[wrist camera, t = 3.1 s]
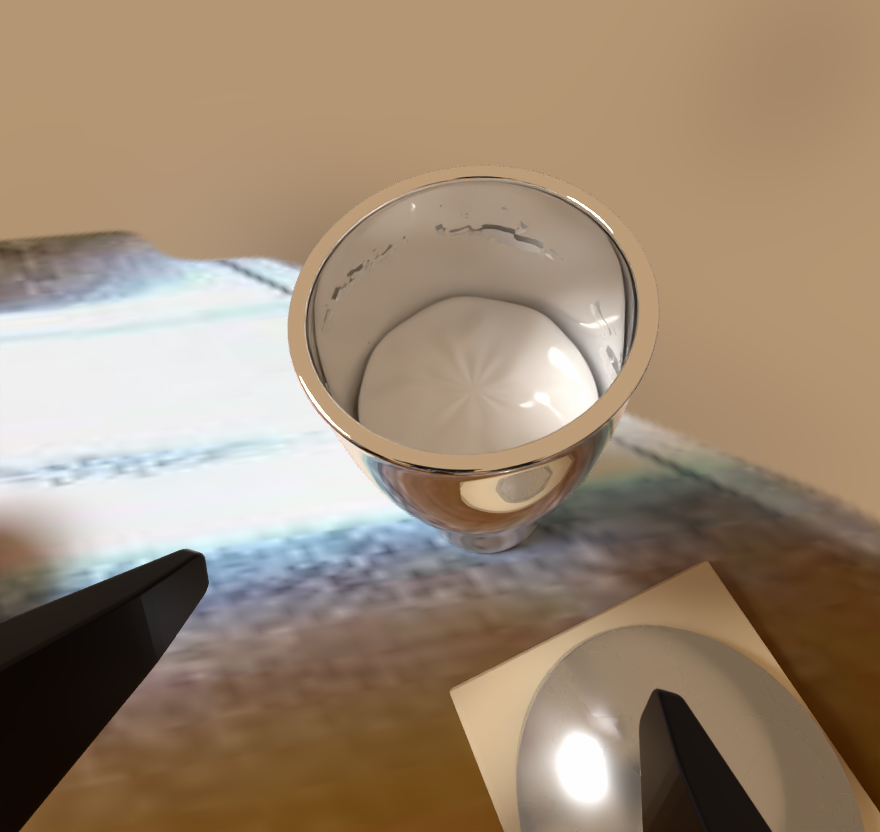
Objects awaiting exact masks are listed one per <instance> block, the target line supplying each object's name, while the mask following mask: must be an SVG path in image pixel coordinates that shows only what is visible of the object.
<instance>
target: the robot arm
mask: <svg viewBox="0 0 880 832" xmlns="http://www.w3.org/2000/svg"><path fill="white" fill-rule="evenodd" d="M208 584H209V580H208V573H207V567H206V561H205V557H204V555H203V554H202V553H200V552H197V551H193V550H190V549H182V550H179V551H176V552H174V553H171V554H169V555H166V556H164V557H161V558H159V559H156V560H154V561H151V562H149V563H146V564H144V565H142V566H139V567H137V568H134V569H132V570H129V571H127V572H124V573H122V574H119V575H117V576H114V577H112V578H109V579H107V580H104V581H102V582H99V583H97V584H94V585H92V586H89V587H87V588H84V589H82V590H79V591H77V592H74V593H72V594H69V595H67V596H64V597H62V598H59V599H57V600H54V601H52V602H49V603H47V604H44V605H42V606H39V607H37V608H34V609H32V610H29V611H27V612H24V613H22V614H19V615H17V616H14V617H12V618H9V619H7V620H4V621H2V622H0V832H19V831H20V830H21V828H22V827H23V826H24V825H25V824H26V822H27V821H28V820H29V819H30V817H31V816H32V815H33V814H34V813H35V811H36V810H37V809H38V808H39V806H40V805H41V804H42V803H43V802H44V800H45V799H46V798H47V797H48V795H49V794H50V793H51V792H52V791H53V789H54V788H55V787H56V786H57V785H58V783H59V782H60V781H61V780H62V778H63V777H64V776H65V775H66V774H67V772H68V771H69V770H70V769H71V767H72V766H73V765H74V764H75V763H76V761H77V760H78V759H79V758H80V756H81V755H82V754H83V753H84V752H85V750H86V749H87V748H88V747H89V745H90V744H91V743H92V742H93V741H94V739H95V738H96V737H97V736H98V735H99V733H100V732H101V731H102V730H103V728H104V727H105V726H106V725H107V724H108V722H109V721H110V720H111V719H112V717H113V716H114V715H115V714H116V713H117V711H118V710H119V709H120V708H121V706H122V705H123V704H124V703H125V702H126V700H127V699H128V698H129V697H130V696H131V694H132V693H133V692H134V691H135V689H136V688H137V687H138V686H139V685H140V683H141V682H142V681H143V680H144V678H145V677H146V676H147V675H148V674H149V672H150V671H151V670H152V668H153V667H154V666H155V665H156V663H157V662H158V661H159V659H160V658H161V657H162V655H163V654H164V652H165V651H166V650H167V648H168V647H169V645H170V644H171V642H172V641H173V640H174V638H175V637H176V635H177V634H178V632H179V631H180V629H181V628H182V626H183V625H184V624H185V622H186V621H187V619H188V618H189V616H190V615H191V613H192V612H193V610H194V609H195V608H196V606H197V605H198V603H199V602H200V600H201V599H202V597H203V596H204V594H205V593H206V591H207V588H208ZM639 749H640V776H641V803H642V826H643V832H772V830H771V829H770V827H769V826H768V824H767V823H766V821H765V820H764V818H763V817H762V815H761V814H760V812H759V811H758V809H757V808H756V806H755V805H754V803H753V802H752V800H751V799H750V797H749V796H748V794H747V793H746V791H745V790H744V788H743V787H742V785H741V784H740V782H739V781H738V779H737V778H736V776H735V775H734V773H733V772H732V770H731V769H730V767H729V766H728V764H727V763H726V761H725V760H724V758H723V757H722V755H721V754H720V752H719V751H718V749H717V748H716V746H715V745H714V743H713V742H712V740H711V739H710V737H709V736H708V734H707V733H706V731H705V730H704V728H703V727H702V725H701V724H700V722H699V721H698V719H697V718H696V716H695V715H694V713H693V712H692V710H691V709H690V707H689V706H688V704H687V703H686V701H685V700H684V699H683V698H682V697H681V696H680V695H678V694H676V693H673V692H669V691H666V690H663V689H659V688H656V689H654V690H653V691H652V693H651V695H650V697H649V699H648V702H647V704H646V706H645V708H644V711H643V713H642V715H641V718H640V723H639Z"/></svg>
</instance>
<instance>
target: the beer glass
mask: <svg viewBox="0 0 880 832" xmlns="http://www.w3.org/2000/svg"><path fill="white" fill-rule="evenodd" d="M658 327H659V297H658V290H657V285H656V281H655V277H654V274H653V270H652V267H651V265H650V262H649V260H648V258H647V256H646V254H645V252H644V250H643V248H642V247H641V245H640V243H639V241H638V240H637V238H636V237H635V235H634V234H633V233H632V232H631V230H630V229H629V228H628V226H627V225H626V224H625V223H624V222H623V221H622V220H621V219H620V218H619V217H618V216H617V215H616V214H615V213H614V212H613V211H612V210H611V209H610V208H608V207H607V206H606V205H605V204H603V203H602V202H601V201H599V200H598V199H596V198H595V197H594V196H592V195H590V194H589V193H587V192H585V191H584V190H582V189H580V188H578V187H576V186H574V185H572V184H570V183H568V182H565V181H563V180H560V179H558V178H555V177H552V176H549V175H546V174H543V173H539V172H535V171H531V170H526V169H521V168H514V167H506V166H489V165H487V166H486V165H483V166H463V167H454V168H447V169H442V170H437V171H433V172H428V173H425V174H421V175H418V176H415V177H412V178H409V179H406V180H403V181H401V182H398V183H396V184H394V185H391V186H389V187H387V188H385V189H383V190H381V191H379V192H377V193H376V194H374V195H372V196H371V197H369V198H367V199H366V200H364V201H363V202H361V203H360V204H358V205H357V206H356V207H354V208H353V209H351V210H350V211H349V212H348V213H346V214H345V215H344V216H343V217H342V218H341V219H340V220H338V221H337V222H336V223H335V224H334V225H333V226H332V227H331V229H329V231H328V232H327V233H326V234H325V235H324V236H323V237H322V239H321V240H320V241H319V242H318V244H317V245H316V246H315V248H314V249H313V251H312V252H311V254H310V255H309V257H308V259H307V260H306V262H305V264H304V266H303V268H302V270H301V272H300V274H299V277H298V279H297V282H296V284H295V287H294V291H293V294H292V298H291V302H290V307H289V314H288V345H289V352H290V357H291V361H292V365H293V368H294V371H295V374H296V376H297V379H298V381H299V383H300V386H301V388H302V390H303V391H304V393H305V395H306V397H307V398H308V400H309V402H310V403H311V404H312V406H313V407H314V409H315V410H316V411H317V412H318V414H319V415H320V416H321V417H322V418H323V419H324V421H325V422H326V423H327V424H328V425H329V426H330V427H331V429H332V430H333V432H334V434H335V435H336V437H337V438H338V440H339V441H340V443H341V444H342V446H343V447H344V448H345V450H346V451H347V453H348V454H349V455H350V457H351V458H352V460H353V461H354V462H355V464H356V465H357V466H358V468H359V469H360V470H361V471H362V472H363V473H364V474H365V476H366V477H367V478H368V479H369V480H370V481H371V482H372V483H373V485H374V486H375V487H376V488H377V489H378V490H379V491H380V492H381V493H382V494H383V495H384V496H385V497H387V498H388V499H389V500H390V501H391V502H393V503H394V504H395V505H397V506H398V507H399V508H401V509H402V510H403V511H405V512H406V513H408V514H409V515H410V516H412V517H414V518H415V519H417V520H419V521H421V522H423V523H425V524H427V525H429V526H432V527H434V528H435V529H436V531H437V532H438V533H439V534H440V535H441V536H442V537H443V538H444V539H446V540H447V541H448V542H450V543H451V544H453V545H454V546H456V547H458V548H461V549H463V550H466V551H470V552H474V553H496V552H501V551H504V550H507V549H510V548H512V547H514V546H516V545H518V544H519V543H521V542H522V541H524V540H525V539H526V538H527V537H528V536H529V535H530V534H531V533H532V532H533V531H534V530H535V528H536V527H537V526H538V524H539V522H540V520H541V519H542V518H543V517H545V516H547V515H548V514H550V513H551V512H553V511H554V510H555V509H557V508H558V507H559V506H560V505H562V504H563V503H564V502H565V501H566V500H567V499H568V498H569V497H570V496H571V495H572V494H573V493H574V491H575V490H576V489H577V488H578V487H579V486H580V485H581V484H582V483H583V482H584V481H585V479H586V478H587V477H588V476H589V474H590V473H591V471H592V470H593V469H594V467H595V465H596V464H597V462H598V461H599V459H600V457H601V456H602V454H603V452H604V451H605V449H606V448H607V446H608V444H609V442H610V441H611V439H612V436H613V434H614V432H615V430H616V428H617V426H618V424H619V422H620V420H621V418H622V415H623V413H624V411H625V409H626V406H627V404H628V401H629V399H630V397H631V395H632V393H633V392H634V391H635V389H636V387H637V386H638V384H639V383H640V381H641V379H642V377H643V375H644V373H645V371H646V369H647V367H648V365H649V362H650V359H651V357H652V353H653V351H654V347H655V343H656V338H657V333H658Z"/></svg>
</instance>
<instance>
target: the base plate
mask: <svg viewBox="0 0 880 832" xmlns="http://www.w3.org/2000/svg"><path fill="white" fill-rule="evenodd" d="M630 625H659V626H665V627H671V628H677V629H683V630H688V631H691V632H694V633H697V634H701V635H704V636H707V637H709V638H712V639H714V640H716V641H718V642H721V643H723V644H725V645H728V646H729V647H731V648H733V649H734V650H736V651H738V652H740V653H741V654H743V655H745V656H746V657H748V658H749V659H751V660H752V661H754V662H755V663H756V664H758V665H759V666H760V667H762V668H763V669H764V670H766V671H767V672H768V673H770V674H771V675H772V676H773V677H774V678H775V679H776V680H777V681H778V682H780V683H781V684H782V685H783V686H784V687H785V688H786V689H787V690H788V691H789V692H790V693H791V694H792V695H793V696H794V697H795V699H796V700H797V701H798V702H799V703H800V704H801V705H802V706H803V707H804V708H805V710H806V711H807V712H808V714H809V715H810V716H811V718H812V719H813V720H814V722H815V723H816V724H817V726H818V727H819V728H820V730H821V731H822V733H823V734H824V736H825V738H826V739H827V741H828V742H829V744H830V746H831V747H832V749H833V751H834V752H835V754H836V756H837V758H838V760H839V762H840V764H841V766H842V768H843V770H844V772H845V774H846V776H847V778H848V780H849V783H850V785H851V788H852V791H853V793H854V796H855V799H856V801H857V804H858V807H859V810H860V814H861V817H862V821H863V825H864V829H865V832H880V812H879V811H878V809H877V808H876V806H875V805H874V804H873V802H872V801H871V799H870V798H869V796H868V795H867V793H866V792H865V790H864V789H863V787H862V786H861V785H860V783H859V782H858V780H857V779H856V777H855V776H854V774H853V773H852V771H851V770H850V768H849V767H848V766H847V764H846V763H845V761H844V760H843V758H842V757H841V755H840V754H839V752H838V751H837V749H836V748H835V747H834V745H833V744H832V742H831V741H830V739H829V738H828V736H827V735H826V733H825V732H824V730H823V729H822V728H821V726H820V725H819V723H818V722H817V720H816V719H815V717H814V716H813V714H812V713H811V711H810V710H809V708H808V707H807V706H806V704H805V703H804V701H803V700H802V698H801V697H800V695H799V694H798V692H797V691H796V689H795V688H794V687H793V685H792V684H791V682H790V681H789V679H788V678H787V676H786V675H785V673H784V672H783V670H782V669H781V668H780V666H779V665H778V663H777V662H776V660H775V659H774V657H773V656H772V654H771V653H770V651H769V650H768V649H767V647H766V646H765V644H764V643H763V641H762V640H761V638H760V637H759V635H758V634H757V632H756V631H755V630H754V628H753V627H752V625H751V624H750V622H749V621H748V619H747V618H746V616H745V615H744V613H743V612H742V611H741V609H740V608H739V606H738V605H737V603H736V602H735V600H734V599H733V597H732V596H731V594H730V593H729V592H728V590H727V589H726V587H725V586H724V584H723V583H722V581H721V580H720V578H719V577H718V575H717V574H716V573H715V571H714V570H713V568H712V567H711V565H710V564H709V562H708V561H703V562H699V563H697V564H695V565H693V566H691V567H689V568H687V569H685V570H683V571H681V572H679V573H677V574H675V575H673V576H671V577H669V578H667V579H665V580H663V581H661V582H659V583H657V584H656V585H654V586H652V587H650V588H648V589H646V590H644V591H642V592H640V593H638V594H636V595H634V596H632V597H630V598H628V599H626V600H624V601H622V602H620V603H618V604H616V605H614V606H612V607H610V608H608V609H607V610H605V611H603V612H601V613H599V614H597V615H595V616H593V617H591V618H589V619H587V620H585V621H583V622H581V623H579V624H577V625H575V626H573V627H571V628H569V629H567V630H565V631H563V632H561V633H559V634H557V635H556V636H554V637H552V638H550V639H548V640H546V641H544V642H542V643H540V644H538V645H536V646H534V647H532V648H530V649H528V650H526V651H524V652H522V653H520V654H518V655H516V656H514V657H512V658H510V659H508V660H506V661H505V662H503V663H501V664H499V665H497V666H495V667H493V668H491V669H489V670H487V671H485V672H483V673H481V674H479V675H477V676H475V677H473V678H471V679H469V680H467V681H465V682H463V683H461V684H459V685H457V686H456V687H454V688H452V689H451V691H450V694H451V697H452V700H453V702H454V705H455V707H456V710H457V712H458V715H459V717H460V720H461V723H462V725H463V728H464V730H465V733H466V735H467V738H468V740H469V743H470V746H471V748H472V751H473V753H474V756H475V758H476V761H477V763H478V766H479V769H480V771H481V774H482V776H483V779H484V781H485V784H486V786H487V789H488V792H489V794H490V797H491V799H492V802H493V804H494V807H495V810H496V812H497V815H498V817H499V820H500V822H501V825H502V827H503V830H504V832H521V827H520V820H519V812H518V804H517V795H516V760H517V747H518V742H519V737H520V732H521V727H522V723H523V720H524V717H525V714H526V711H527V708H528V705H529V703H530V701H531V699H532V697H533V695H534V693H535V691H536V688H537V687H538V685H539V684H540V682H541V681H542V679H543V678H544V676H545V675H546V673H547V672H548V670H549V669H550V668H551V667H552V666H553V665H554V664H555V662H556V661H557V660H558V659H559V658H560V657H561V656H562V655H564V654H565V653H566V652H567V651H568V650H570V649H571V648H572V647H573V646H575V645H576V644H578V643H580V642H581V641H583V640H585V639H586V638H588V637H590V636H593V635H595V634H597V633H600V632H602V631H605V630H609V629H613V628H617V627H621V626H630Z"/></svg>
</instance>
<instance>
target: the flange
mask: <svg viewBox="0 0 880 832" xmlns="http://www.w3.org/2000/svg"><path fill="white" fill-rule="evenodd" d="M656 688H659V689H663V690H666V691H669V692H673V693H676V694H678V695H680V696H681V697H682V698H683V699H684V700H685V701H686V703H687V704H688V706H689V707H690V709H691V710H692V712H693V713H694V715H695V716H696V718H697V719H698V721H699V722H700V724H701V725H702V727H703V728H704V730H705V731H706V733H707V734H708V736H709V737H710V739H711V740H712V742H713V743H714V745H715V746H716V748H717V749H718V751H719V752H720V754H721V755H722V757H723V758H724V760H725V761H726V763H727V764H728V766H729V767H730V769H731V770H732V772H733V773H734V775H735V776H736V778H737V779H738V781H739V782H740V784H741V785H742V787H743V788H744V790H745V791H746V793H747V794H748V796H749V797H750V799H751V800H752V802H753V803H754V805H755V806H756V808H757V809H758V811H759V812H760V814H761V815H762V817H763V818H764V820H765V821H766V823H767V824H768V826H769V827H770V829H771V830H772V832H865V829H864V825H863V821H862V817H861V814H860V810H859V807H858V804H857V801H856V799H855V796H854V793H853V791H852V788H851V785H850V783H849V780H848V778H847V776H846V774H845V772H844V770H843V768H842V766H841V764H840V762H839V760H838V758H837V756H836V754H835V752H834V751H833V749H832V747H831V746H830V744H829V742H828V741H827V739H826V738H825V736H824V734H823V733H822V731H821V730H820V728H819V727H818V726H817V724H816V723H815V722H814V720H813V719H812V718H811V716H810V715H809V714H808V712H807V711H806V710H805V708H804V707H803V706H802V705H801V704H800V703H799V702H798V701H797V700H796V699H795V697H794V696H793V695H792V694H791V693H790V692H789V691H788V690H787V689H786V688H785V687H784V686H783V685H782V684H781V683H780V682H778V681H777V680H776V679H775V678H774V677H773V676H772V675H771V674H770V673H768V672H767V671H766V670H764V669H763V668H762V667H760V666H759V665H758V664H756V663H755V662H754V661H752V660H751V659H749V658H748V657H746V656H745V655H743V654H741V653H740V652H738V651H736V650H734V649H733V648H731V647H729V646H728V645H725V644H723V643H721V642H718V641H716V640H714V639H712V638H709V637H707V636H704V635H701V634H697V633H694V632H691V631H688V630H683V629H677V628H671V627H665V626H659V625H630V626H621V627H617V628H613V629H609V630H605V631H602V632H600V633H597V634H595V635H593V636H590V637H588V638H586V639H585V640H583V641H581V642H580V643H578V644H576V645H575V646H573V647H572V648H571V649H570V650H568V651H567V652H566V653H565V654H564V655H562V656H561V657H560V658H559V659H558V660H557V661H556V662H555V664H554V665H553V666H552V667H551V668H550V669H549V670H548V672H547V673H546V675H545V676H544V678H543V679H542V681H541V682H540V684H539V685H538V687H537V688H536V691H535V693H534V695H533V697H532V699H531V701H530V703H529V705H528V708H527V711H526V714H525V717H524V720H523V723H522V727H521V732H520V737H519V742H518V747H517V760H516V795H517V804H518V812H519V820H520V827H521V832H643V826H642V803H641V776H640V749H639V723H640V718H641V715H642V713H643V711H644V708H645V706H646V704H647V702H648V699H649V697H650V695H651V693H652V691H653V690H654V689H656Z"/></svg>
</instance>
